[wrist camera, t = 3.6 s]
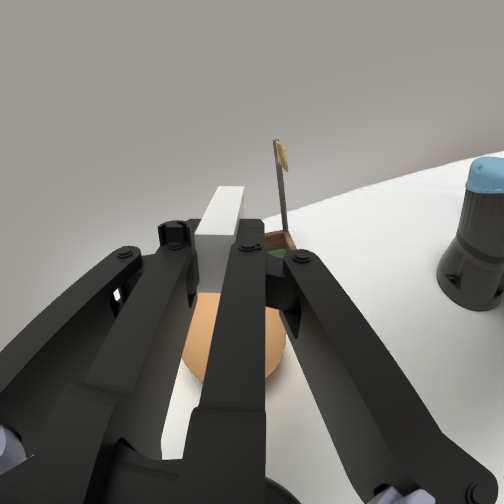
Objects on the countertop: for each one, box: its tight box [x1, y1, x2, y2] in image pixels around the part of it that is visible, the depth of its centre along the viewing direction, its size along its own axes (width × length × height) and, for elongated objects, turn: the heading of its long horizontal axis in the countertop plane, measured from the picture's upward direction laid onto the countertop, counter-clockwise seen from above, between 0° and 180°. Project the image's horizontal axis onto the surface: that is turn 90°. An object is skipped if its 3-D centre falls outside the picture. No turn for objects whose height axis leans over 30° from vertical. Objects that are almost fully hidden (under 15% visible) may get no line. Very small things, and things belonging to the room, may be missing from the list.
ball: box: [182, 292, 286, 381], centre depth 33 cm, size 13×13×13 cm
